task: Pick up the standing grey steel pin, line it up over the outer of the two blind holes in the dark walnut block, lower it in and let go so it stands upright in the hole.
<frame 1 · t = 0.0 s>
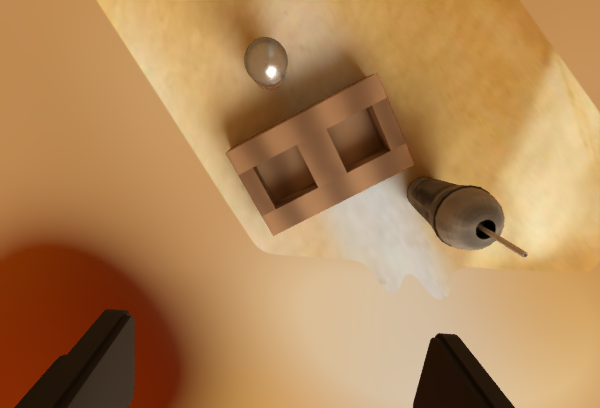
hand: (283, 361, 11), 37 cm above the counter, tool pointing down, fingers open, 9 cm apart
steel pin: (269, 73, 43), on the counter
beverage cup: (421, 192, 49), on the counter
walnut block: (317, 153, 46), on the counter
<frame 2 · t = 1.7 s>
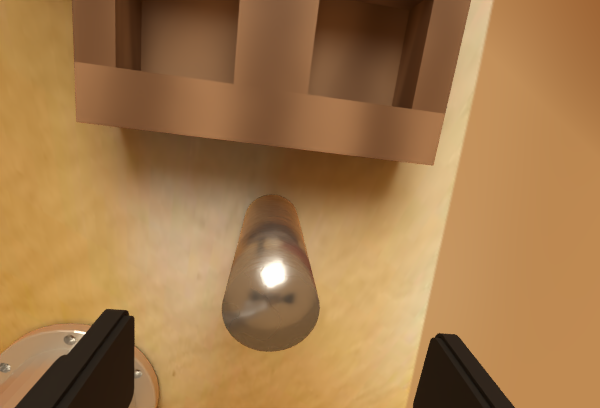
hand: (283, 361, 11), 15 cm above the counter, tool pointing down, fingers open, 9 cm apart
steel pin: (271, 220, 25), on the counter
walnut block: (275, 46, 22), on the counter
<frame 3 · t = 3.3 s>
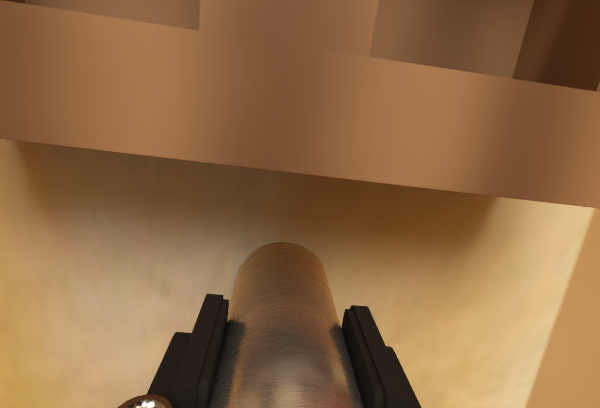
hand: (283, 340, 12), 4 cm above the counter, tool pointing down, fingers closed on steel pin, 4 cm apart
steel pin: (281, 284, 15), on the counter, touching gripper
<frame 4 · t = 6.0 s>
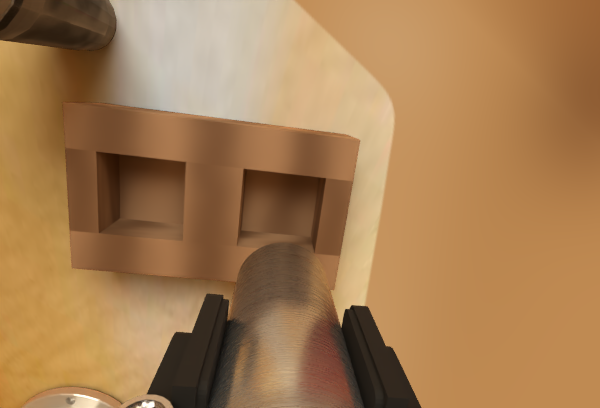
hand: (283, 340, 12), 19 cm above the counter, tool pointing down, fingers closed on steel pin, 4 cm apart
steel pin: (281, 284, 15), point 15 cm above the counter, touching gripper
beverage cup: (86, 18, 25), on the counter
walnut block: (222, 189, 30), on the counter
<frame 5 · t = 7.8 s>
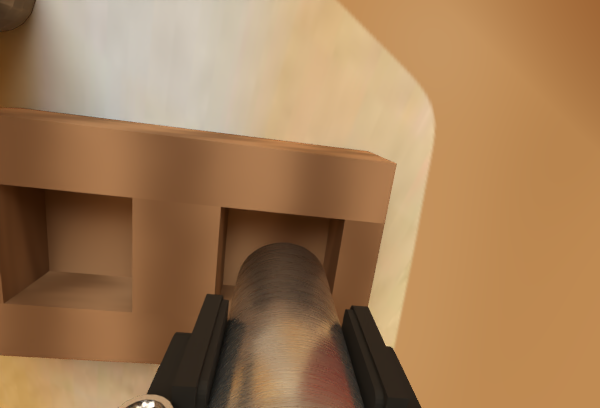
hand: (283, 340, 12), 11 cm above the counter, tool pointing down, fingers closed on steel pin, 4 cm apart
steel pin: (281, 284, 15), point 7 cm above the counter, touching gripper
walnut block: (197, 227, 21), on the counter
when the fingers open (6 cm above the counter, at t = 9.0 s): steel pin stays where it is, resting on walnut block.
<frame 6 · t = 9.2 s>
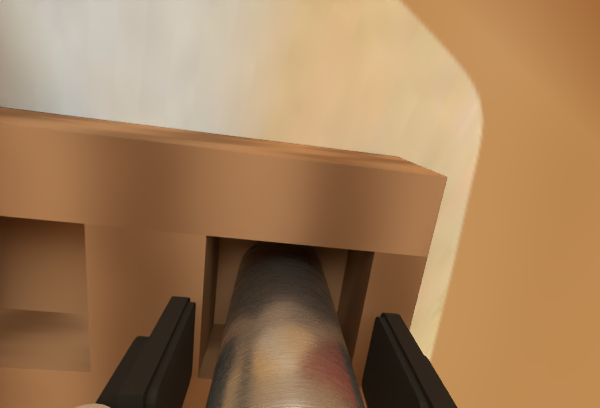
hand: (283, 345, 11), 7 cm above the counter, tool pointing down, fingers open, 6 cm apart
steel pin: (280, 274, 16), point 2 cm above the counter, touching walnut block
walnut block: (182, 251, 17), on the counter
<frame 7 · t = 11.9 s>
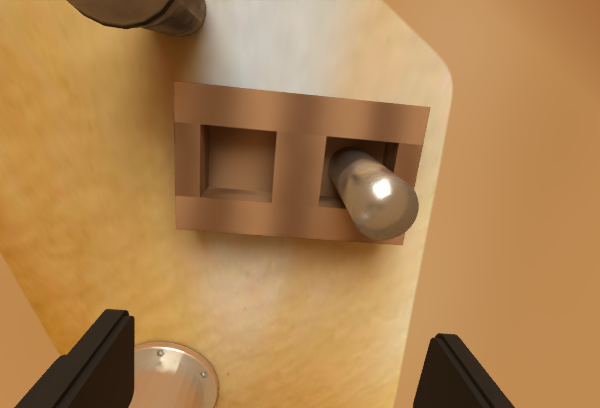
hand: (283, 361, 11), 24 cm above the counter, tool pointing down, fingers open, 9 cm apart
steel pin: (349, 167, 32), point 2 cm above the counter, touching walnut block
beverage cup: (179, 7, 29), on the counter
walnut block: (296, 159, 33), on the counter
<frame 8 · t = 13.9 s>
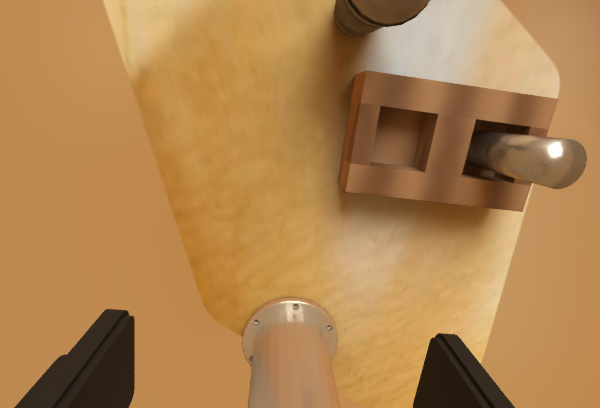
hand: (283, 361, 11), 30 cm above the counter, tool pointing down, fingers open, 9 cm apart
steel pin: (476, 148, 39), point 2 cm above the counter, touching walnut block
beverage cup: (354, 13, 36), on the counter
walnut block: (429, 141, 40), on the counter
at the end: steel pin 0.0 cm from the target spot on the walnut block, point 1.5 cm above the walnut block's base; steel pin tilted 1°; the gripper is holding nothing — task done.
